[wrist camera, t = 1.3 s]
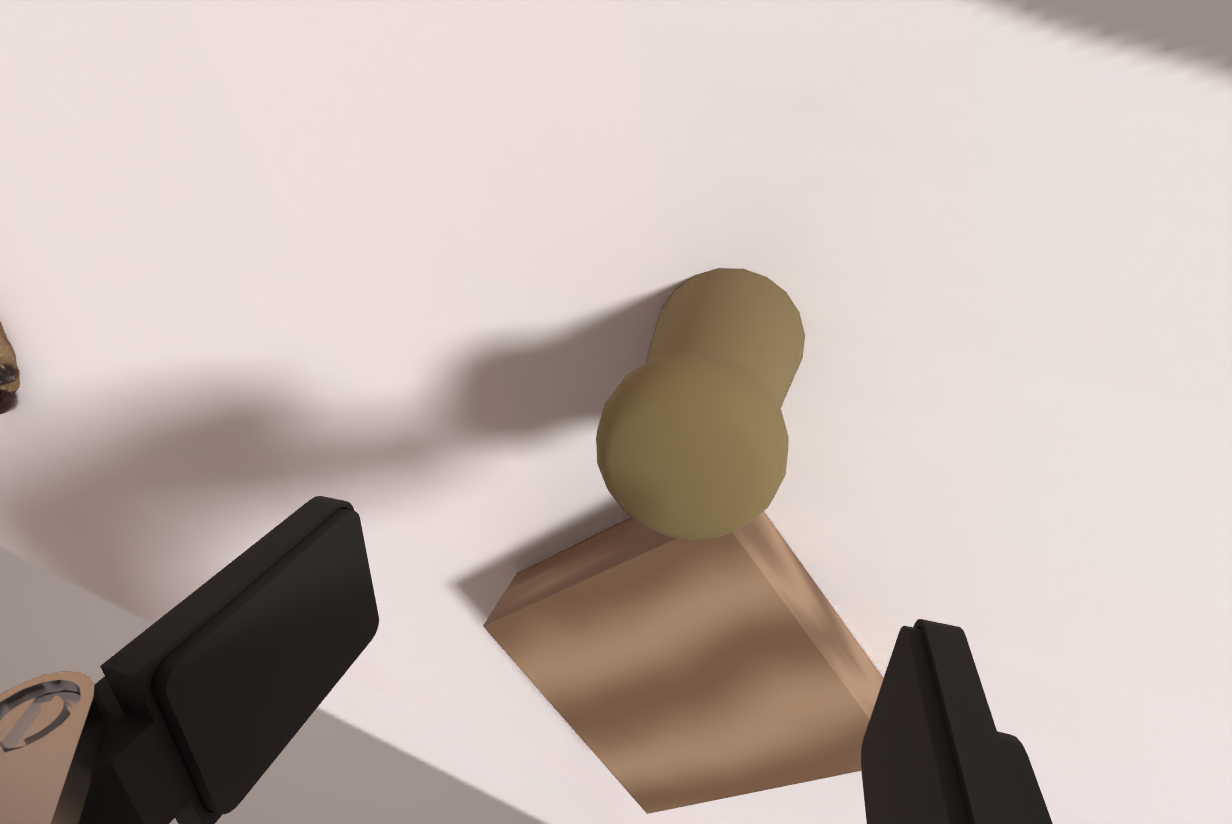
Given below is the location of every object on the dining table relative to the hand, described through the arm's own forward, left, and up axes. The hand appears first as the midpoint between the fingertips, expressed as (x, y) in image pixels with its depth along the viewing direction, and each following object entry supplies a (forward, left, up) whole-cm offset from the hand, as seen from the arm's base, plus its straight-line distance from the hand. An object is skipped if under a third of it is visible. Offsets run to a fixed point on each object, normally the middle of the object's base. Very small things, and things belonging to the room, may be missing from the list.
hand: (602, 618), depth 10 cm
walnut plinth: (-13, +10, -16) cm, 23 cm away
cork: (-1, 0, -17) cm, 17 cm away
